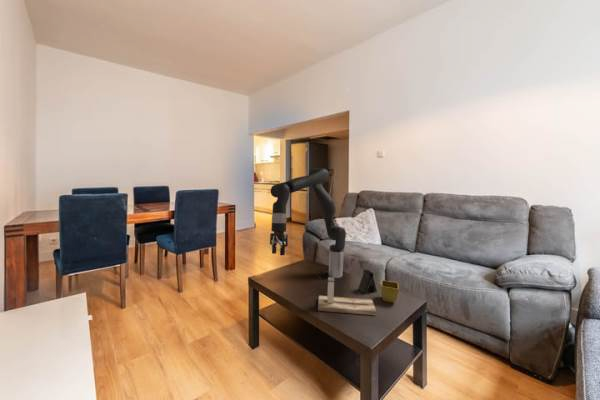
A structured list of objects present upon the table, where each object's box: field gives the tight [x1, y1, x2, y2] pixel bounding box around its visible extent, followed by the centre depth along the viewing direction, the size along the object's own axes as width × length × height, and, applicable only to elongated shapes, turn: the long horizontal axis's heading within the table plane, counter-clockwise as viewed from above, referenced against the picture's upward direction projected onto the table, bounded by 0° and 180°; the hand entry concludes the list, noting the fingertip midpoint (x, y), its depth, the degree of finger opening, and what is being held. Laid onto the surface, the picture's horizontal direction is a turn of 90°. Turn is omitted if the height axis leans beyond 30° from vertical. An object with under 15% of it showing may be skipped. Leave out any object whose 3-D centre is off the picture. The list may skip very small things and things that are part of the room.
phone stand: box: [357, 268, 378, 295], centre depth 150 cm, size 9×6×12 cm, turn 108°
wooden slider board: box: [317, 295, 377, 316], centre depth 131 cm, size 12×28×2 cm, turn 84°
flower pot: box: [380, 280, 400, 304], centre depth 139 cm, size 9×9×9 cm
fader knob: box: [326, 276, 335, 303], centre depth 131 cm, size 4×3×12 cm
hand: (278, 254), depth 130 cm, fingers open, 8 cm apart
